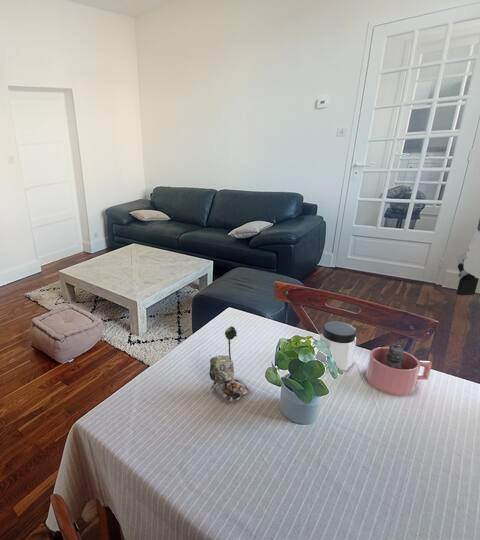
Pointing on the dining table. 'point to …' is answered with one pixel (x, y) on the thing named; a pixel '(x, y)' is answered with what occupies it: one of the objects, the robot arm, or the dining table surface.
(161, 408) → the dining table surface
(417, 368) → the pink coffee mug
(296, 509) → the dining table surface
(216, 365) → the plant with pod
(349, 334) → the jar
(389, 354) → the grey stone figurine
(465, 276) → the robot arm
